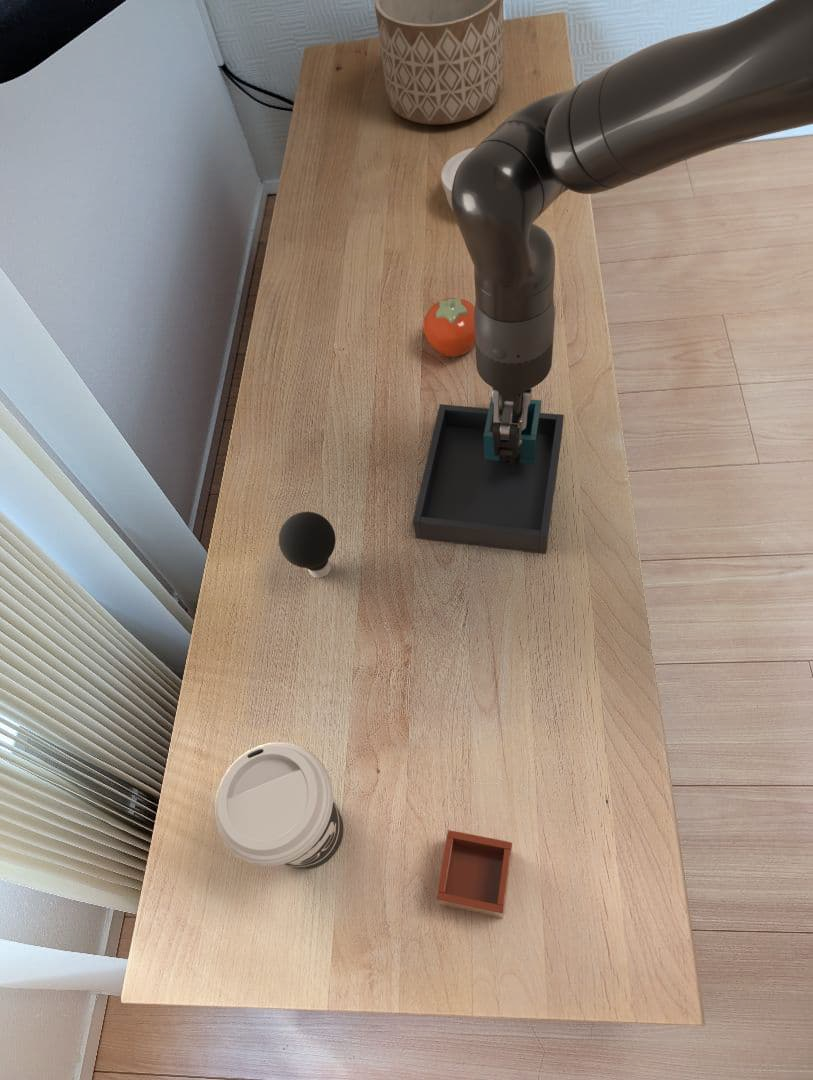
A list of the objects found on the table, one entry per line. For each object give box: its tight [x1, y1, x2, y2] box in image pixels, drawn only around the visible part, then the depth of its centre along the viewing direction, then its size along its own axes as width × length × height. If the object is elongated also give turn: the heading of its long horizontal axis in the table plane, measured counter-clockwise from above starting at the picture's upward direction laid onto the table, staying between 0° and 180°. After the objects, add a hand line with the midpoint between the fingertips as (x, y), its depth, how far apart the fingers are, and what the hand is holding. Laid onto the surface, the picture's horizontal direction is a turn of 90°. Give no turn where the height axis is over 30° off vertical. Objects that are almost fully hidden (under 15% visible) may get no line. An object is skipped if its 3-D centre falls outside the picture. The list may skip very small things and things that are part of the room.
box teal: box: [484, 395, 542, 464], centre depth 87 cm, size 6×6×4 cm
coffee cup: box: [214, 741, 344, 870], centre depth 67 cm, size 10×10×15 cm
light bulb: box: [278, 511, 336, 579], centre depth 83 cm, size 6×6×10 cm
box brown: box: [435, 829, 513, 919], centre depth 68 cm, size 6×6×4 cm
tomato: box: [423, 297, 475, 358], centre depth 99 cm, size 7×7×8 cm
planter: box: [373, 0, 505, 126], centre depth 123 cm, size 19×19×16 cm
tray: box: [412, 403, 565, 555], centre depth 89 cm, size 15×17×4 cm
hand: (513, 439), depth 89 cm, fingers closed on box teal, 5 cm apart
